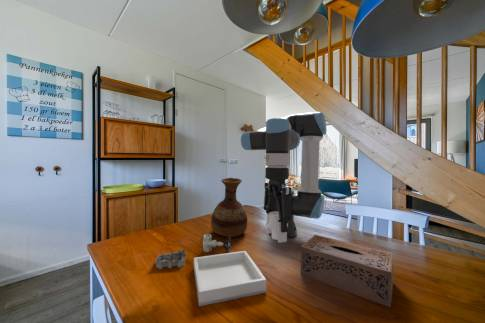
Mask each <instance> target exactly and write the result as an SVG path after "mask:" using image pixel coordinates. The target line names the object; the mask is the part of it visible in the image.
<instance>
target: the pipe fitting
mask: <svg viewBox="0 0 485 323" xmlns="http://www.w3.org/2000/svg"><path fill="white" fill-rule="evenodd" d="M278 220H280V219H279V213H278V212H270V213H269V221H268V222H267V221H266V222H265V227H266V228H267V227H269V228H270V229H272V233H271V234H272V235H271V234H270V235H271V239H272V240H277V241H278ZM287 227H288V223H287Z"/></svg>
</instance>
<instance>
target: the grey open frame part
mask: <svg viewBox="0 0 485 323" xmlns="http://www.w3.org/2000/svg"><path fill="white" fill-rule="evenodd" d="M186 253H187V251H186V249H179V250H177V251H174V252H168V253H164V254H162V253H161V254H158V255H157V257H156V259H155V268H157V269H158V270H162V269H163V268H168V269H171V268H174V267H176V268H181V267H182V266H185V262H186V258H187V256H186Z"/></svg>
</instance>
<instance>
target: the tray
mask: <svg viewBox="0 0 485 323" xmlns="http://www.w3.org/2000/svg"><path fill="white" fill-rule="evenodd" d="M193 271H194V272H193V273H194V279H195V285H196V286H195V287H196V293H197V295H196V296H197V301H198V306H199V307H203V306H208V305H212V304H213V305H214V304H218V303H222V302H227V301H232V300H238V299H242V298H246V297H247V298H248V297H250V296H256V295H260V294H266V293H267V279H266V277H265V276H264V275H263V273H262V271H261V270H260V268H259V267H258V266H257V265H256V263H255V262H254V260H253V259H252V258H251V256H250V255H249V253H248V252H247V251H246V250H241V251H235V252H234V251H233V252H228V253H226V252H225V253H219V254H211V255H204V256H197V257H193Z"/></svg>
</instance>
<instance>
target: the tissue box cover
mask: <svg viewBox="0 0 485 323" xmlns="http://www.w3.org/2000/svg"><path fill="white" fill-rule="evenodd" d="M394 255H395V254H394V252H388V251H384V250H380V249H376V248H372V247H369V246H368V247H367V246H364V245H359V244H355V243H351V242H347V241H343V240H339V239H335V238H331V237H327V236H321V235H318V234H314V235H313V236H312V237H310V238H309V239H308V240H307V241H305V243H303V244H302V245H301V246H300V275H303V276H305V277H307V278H311V279H313V280H315V281H319V282H321V283H324V284H327V285H329V286H331V287H335V288H337V289H340V290H342V291H346V292H348V293H351V294H353V295H356V296H359V297H362V298H364V299H366V300H369V301H372V302H374V303H377V304H379V305H380V304H381V305H383V306H385V307H387V308H391V307H392V299H393V298H392V297H393V286H394Z"/></svg>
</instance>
